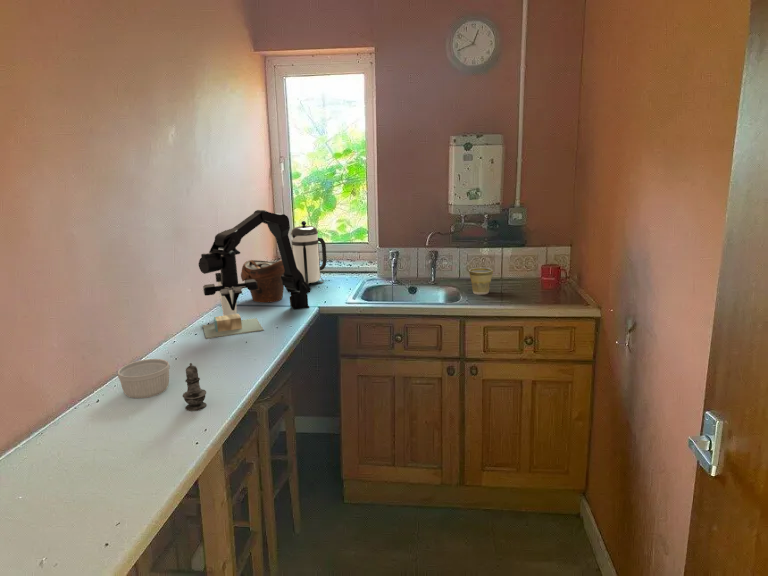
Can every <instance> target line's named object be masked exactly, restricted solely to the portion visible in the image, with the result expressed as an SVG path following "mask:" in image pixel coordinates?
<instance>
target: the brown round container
mask: <svg viewBox="0 0 768 576" xmlns="http://www.w3.org/2000/svg"><path fill="white" fill-rule="evenodd" d="M284 271H285V270H284V266H283V263H282V259H279V260H277V261H268V260H261V259H259V260H258V259H251V260H250V259H249V260H247V261H245V262H244V263H243V264H242V268H241V273H240V279H241V281H242V282H245V280H251V279H254V280H255V281H256V282H257V284H258V289H256V290H249V291H250V295H251V299H252V301H254V302H256V303H273V302H278V301H280V300H282V299H283V297H284V288H285V286H284V285H283V282H282V279H281V276H283V275H284Z"/></svg>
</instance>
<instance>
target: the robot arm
mask: <svg viewBox="0 0 768 576" xmlns="http://www.w3.org/2000/svg"><path fill="white" fill-rule="evenodd" d="M262 223H263V224H264V225H265V224H266V226H267V227H268V230H269V232H270V233H271V234H272V235H273V236H274V237H275V240H276V245H277V248H278V251H279V255H280V258H281V259H282V263H283V266H284V270H285V271H284V275H283V276H281V279H282V282H283V285H284V288H286V292H287V293H290V296H289V304H290V307H291V308H292V309H293V310H301V309H309V308H310V305H309V300H308V299H309V298H308V294H309V293H311V290H312V287H311V285H308V284H307V283H306V282H305V280H304V277H303V275H302V273H301V272H300V271H299V270H298V269H297V267H296V263H295V259H294V255H293V251H292V243H291V241H290V238H289V237H290V236H289V233H290V228H291V227H290V218H289V217H288V215H286V214H285V213H273V212H270V211H268V210H264V209H256V210H255V211H253V213H252V214H250V215H249V216H248V217H246V218H244V219H243V220H242V221H240V222H239V223H238V224H236V225H235V226H234V227H232V228H229V229H226V230H222V231H221V232H218V233H217V234H215V236H214V241H213V243H212V245H211V247H210V249H209V251H208V253H201V254H200V258H199V261H198V268H199V270H200V272H201V273H202V274H204V275H206V274H211V273H214V272H216V273H215V274H214V275H215V282H216V283H218V282H221V285H222V286H218V285H215V283H211V284H204V285H203V286H202V291H203V295H204V296H214V295H215V294H216V293H217V292H219V291H220V293H221V296H225V297H226V299H227V301H228V303H229V305H230V307H231V309H232V310H234V309H235V305H236V302H237V301H238V299H239V296H240V295H241V294H243V290H242V289H247V290H248V291H250V290H256V289H258V284H257V282H256V281H255V280H254V279H251V280H244V282H239V279H238V276H239V275H238V268H237V259H236V258H237V257H236V255H240V254H241V251H240V250H238V249H237V247H238V246H239V244H240V243H241V241H242V239H243V238H244V237H245V236H246V235H248V234H249V233H251V232H252V231H253V230H255V229H256V228H257V227H258V226H260V225H262ZM281 259H280V260H281ZM227 287H229V288H227ZM232 289H233V290H232ZM229 290H232V301H231V297H230V293H229Z"/></svg>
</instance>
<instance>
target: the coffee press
mask: <svg viewBox="0 0 768 576" xmlns="http://www.w3.org/2000/svg"><path fill="white" fill-rule="evenodd" d="M300 224H301V225H299V226H296V227H293V228H292V229H291V232H290V236H291V248H292V251H293V255H294V259H295V263H296V267H297V269H298V270H299V271H300V272H301V273H302V275H303V277H304V280H305V282H306V283H307V284H308V285H309V284H310V283H311V284H313V283H317V282H319V283H320V284H324V279H323V278H322V276H321V271H323V270H324V269H325V268H326V265H327V248H326V247H327V246H326V242H325V240H324V238H322V237H318V234H319V231H318V230H317V227H316V226H315V227H314V226H313V225H307V222H306V221H304V220H302V221H301V223H300ZM319 242H320V244H321V255H322V264H321V263H320V261H321V258H320V248H319V246H320V245H319ZM320 279H321V281H320ZM309 286H310V285H309Z"/></svg>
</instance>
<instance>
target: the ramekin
mask: <svg viewBox="0 0 768 576" xmlns="http://www.w3.org/2000/svg"><path fill="white" fill-rule="evenodd" d="M170 369H171V366H170V363H169V361H167V360H166V359H161V358H148V359H147V358H146V359H140V360H136V361H133V362H129V363H128V364H125V365H123V366H121V367H120V368H119V369H118V370H117V378H118V379H119V381H120V385H121V388H122V391H123V393H124V395H126V396H127V397H129V398H131V399H146V398H153V397H155V396H158V395H160V394H162V393H163V392H165V391H167V388H168V387H169V384H170Z"/></svg>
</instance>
